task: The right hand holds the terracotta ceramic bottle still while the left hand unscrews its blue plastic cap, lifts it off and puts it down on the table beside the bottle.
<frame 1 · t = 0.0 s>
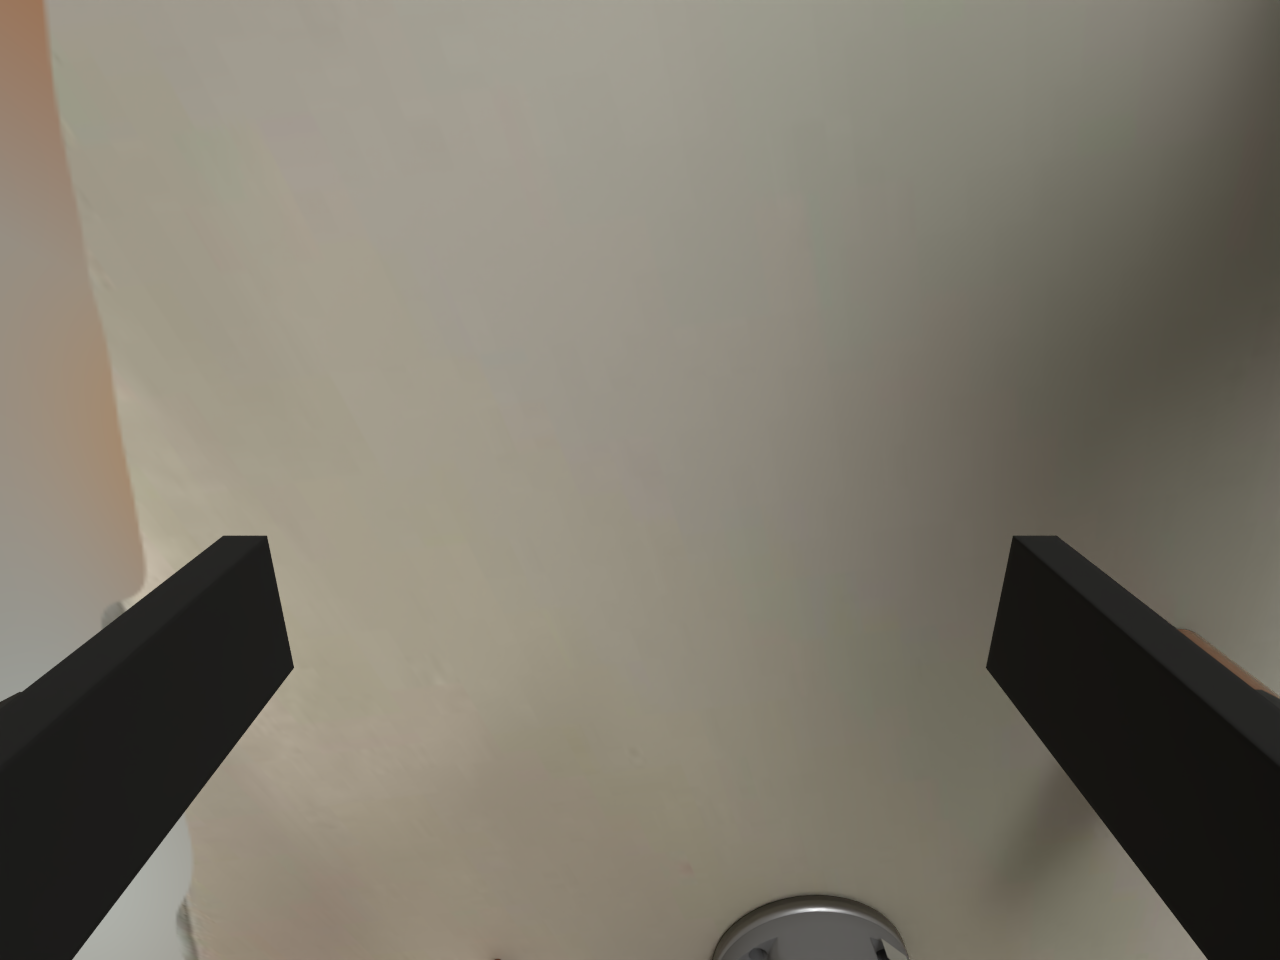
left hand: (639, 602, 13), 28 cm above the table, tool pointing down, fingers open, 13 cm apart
bottle: (1166, 664, 46), on the table
brown disc: (498, 957, 56), on the table
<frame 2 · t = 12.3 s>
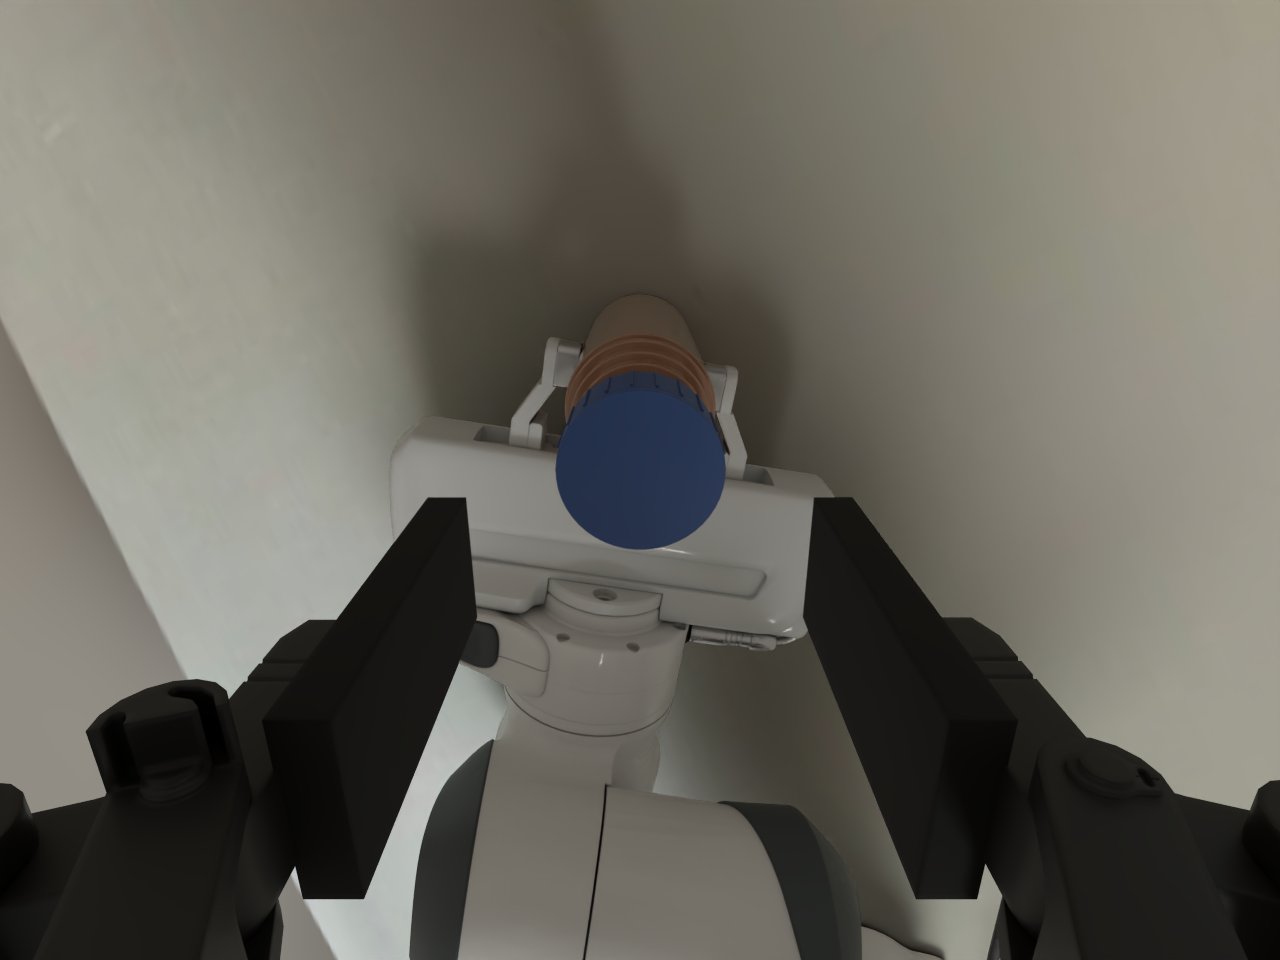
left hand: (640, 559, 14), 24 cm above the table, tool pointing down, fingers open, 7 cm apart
right hand: (642, 353, 30), fingers closed on bottle, 5 cm apart
cap: (640, 469, 19), point 19 cm above the table, screwed on, not yet turned
bottle: (639, 347, 37), on the table, touching right hand
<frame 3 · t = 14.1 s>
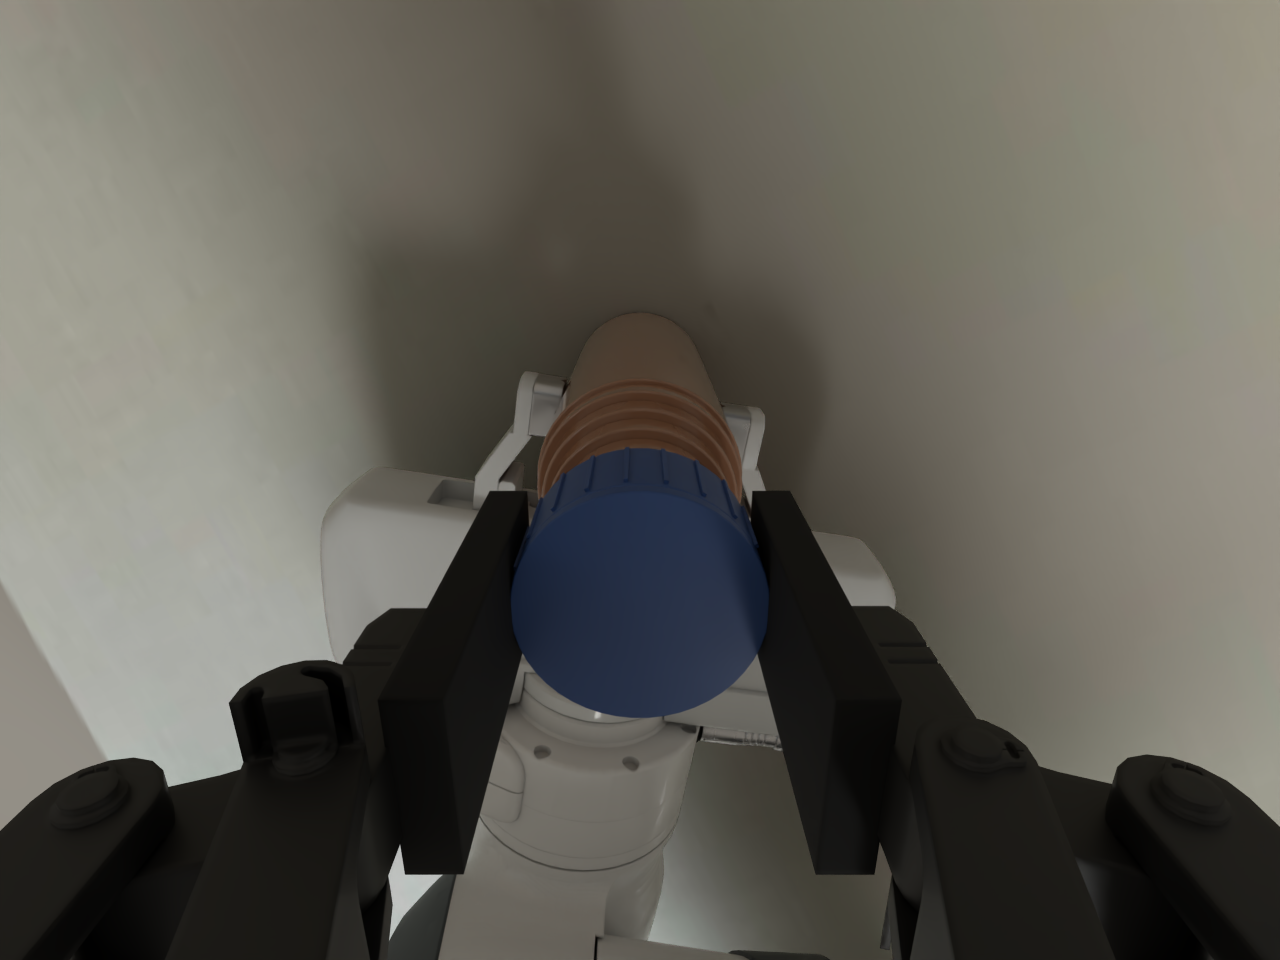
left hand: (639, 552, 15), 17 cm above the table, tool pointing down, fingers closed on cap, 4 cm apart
right hand: (642, 392, 24), fingers closed on bottle, 5 cm apart
cap: (640, 603, 13), point 19 cm above the table, screwed on, not yet turned, touching left hand
bottle: (639, 376, 30), on the table, touching right hand
when the left hand's fingers open (1 cm above the table, at t = 32.1 s): cap stays where it is, point 2 cm above the table.
when the right hand's fingers open (7 cm above the table, at t = 33.4 s): bottle stays where it is, on the table.
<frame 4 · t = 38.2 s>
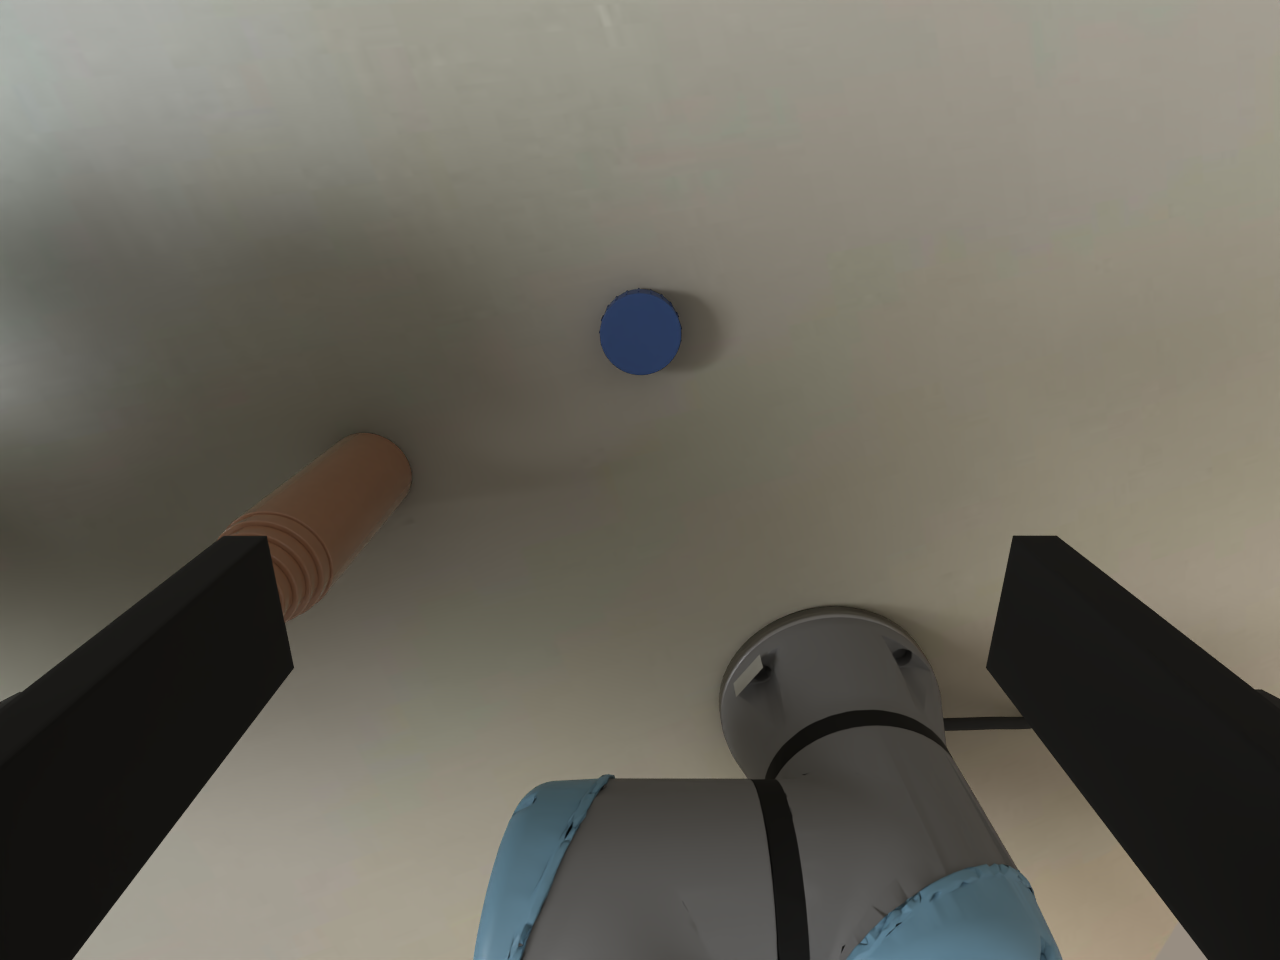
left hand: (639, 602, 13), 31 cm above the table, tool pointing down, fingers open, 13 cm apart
cap: (640, 334, 40), point 2 cm above the table, off its thread
bottle: (369, 472, 45), on the table
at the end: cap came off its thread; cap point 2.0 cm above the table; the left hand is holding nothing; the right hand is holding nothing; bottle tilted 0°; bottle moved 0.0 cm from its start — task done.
